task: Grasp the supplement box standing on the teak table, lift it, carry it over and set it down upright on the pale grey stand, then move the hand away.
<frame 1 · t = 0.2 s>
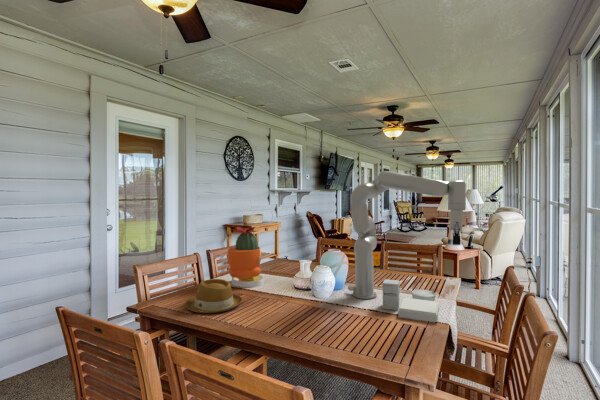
hand: (456, 242, 158), 31 cm above the table, tool pointing down, fingers open, 9 cm apart
ramekin: (423, 303, 166), on the table
fedora: (214, 305, 168), on the table
supplement box: (391, 307, 160), on the table
potted cactus: (245, 284, 203), on the table
stand: (419, 313, 152), on the table
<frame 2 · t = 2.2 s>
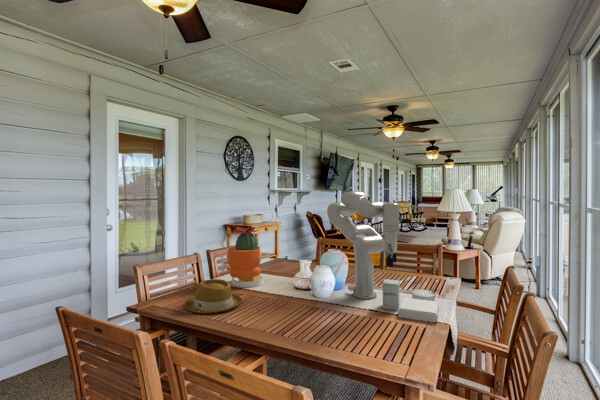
hand: (391, 264, 159), 21 cm above the table, tool pointing down, fingers open, 9 cm apart
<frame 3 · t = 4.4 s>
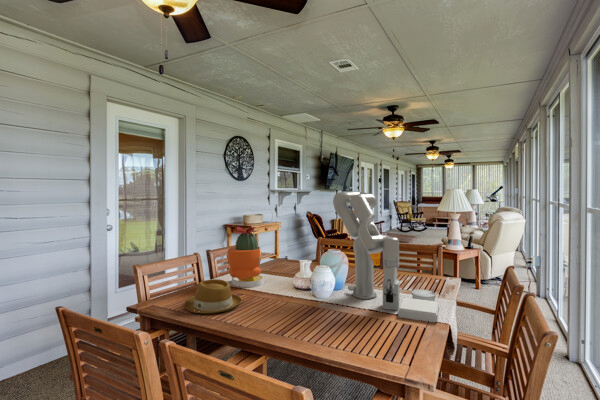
hand: (391, 299, 160), 4 cm above the table, tool pointing down, fingers closed on supplement box, 7 cm apart
supplement box: (391, 307, 160), on the table, touching gripper
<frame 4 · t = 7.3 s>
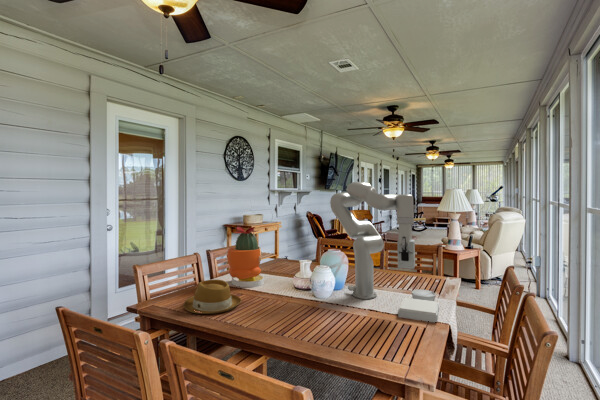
hand: (406, 258, 155), 24 cm above the table, tool pointing down, fingers closed on supplement box, 7 cm apart
supplement box: (406, 267, 155), point 20 cm above the table, touching gripper
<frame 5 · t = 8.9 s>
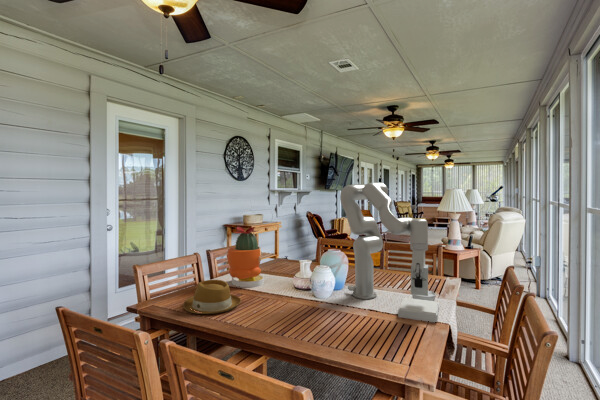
hand: (419, 284, 152), 13 cm above the table, tool pointing down, fingers closed on supplement box, 7 cm apart
supplement box: (419, 293, 152), point 9 cm above the table, touching gripper
when the fingers open (9 cm above the table, at t = 10.3 s): supplement box drops 1 cm, resting on stand.
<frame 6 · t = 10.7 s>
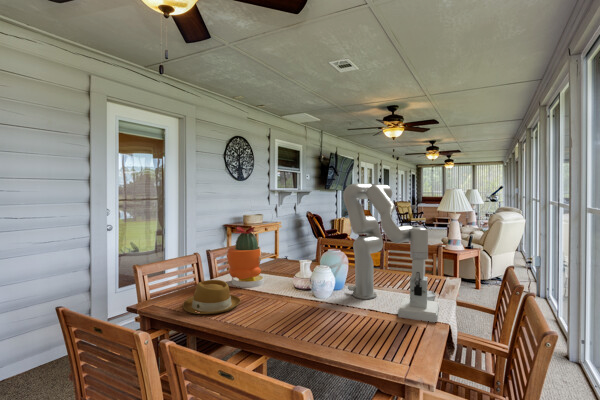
hand: (419, 292, 152), 10 cm above the table, tool pointing down, fingers open, 9 cm apart
supplement box: (418, 305, 152), point 4 cm above the table, touching stand
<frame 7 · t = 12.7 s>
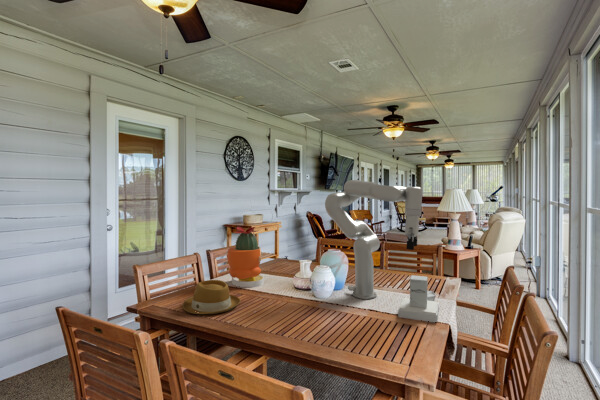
hand: (411, 247, 161), 28 cm above the table, tool pointing down, fingers open, 9 cm apart
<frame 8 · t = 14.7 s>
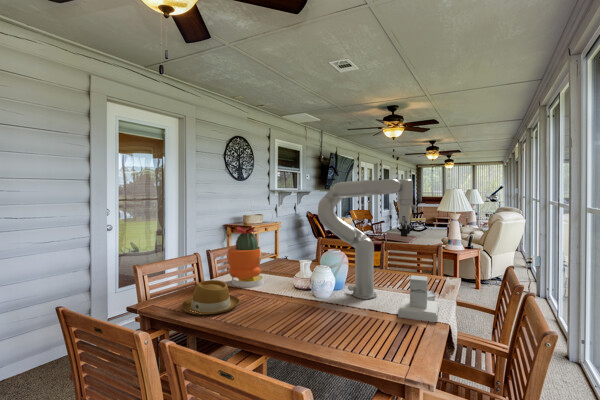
hand: (405, 235, 176), 32 cm above the table, tool pointing down, fingers open, 9 cm apart
at the end: supplement box inside the target area on the stand (0.2 cm from its centre), point 3.8 cm above the stand's base; supplement box tilted 0°; the gripper is holding nothing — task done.
